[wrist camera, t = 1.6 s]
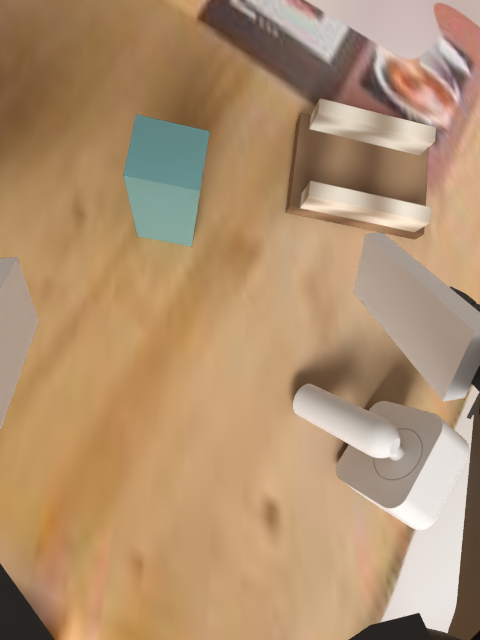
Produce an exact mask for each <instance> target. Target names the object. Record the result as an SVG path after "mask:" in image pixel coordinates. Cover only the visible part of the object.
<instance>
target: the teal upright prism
mask: <svg viewBox="0 0 480 640" xmlns="http://www.w3.org/2000/svg"><path fill="white" fill-rule="evenodd" d="M209 133H210V131H207V130H202V129H198V128H193V127H189V126H185V125H180V124H176V123H172V122H167V121H163V120H159V119H154V118H150V117H146V116H141V115H137V114H136V117H135V122H134V126H133V131H132V136H131V141H130V146H129V151H128V156H127V160H126V165H125V170H124V175H123V176H124V180H125V184H126V188H127V193H128V197H129V201H130V206H131V210H132V214H133V218H134V223H135V227H136V231H137V235H138V236H139V237H144V238H149V239H154V240H160V241H165V242H170V243H176V244H181V245H186V246H192V242H193V236H194V230H195V224H196V218H197V212H198V206H199V200H200V193H201V187H202V180H203V173H204V166H205V160H206V153H207V146H208V139H209Z"/></svg>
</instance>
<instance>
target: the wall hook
mask: <svg viewBox="0 0 480 640" xmlns="http://www.w3.org/2000/svg"><path fill="white" fill-rule="evenodd" d="M293 410H294V412H295V414H297V415H299V416H300V417H302V418H304V419H306V420H307V421H309V422H311V423H313V424H314V425H316V426H318V427H320V428H321V429H323V430H325V431H327V432H328V433H330V434H332V435H334V436H336V437H337V438H339V439H341V440H343V441H344V442H346V443H348V444H349V445H348V446H347V448H346V450H345V451H344V453H343V455H342V457H341V458H340V460H339V462H338V464H337V470H336V472H337V476H338V478H339V479H340V480H341V481H343V482H344V483H345V484H347V485H348V486H349V487H351V488H352V489H354V490H355V491H356V492H358V493H359V494H360V495H362V496H363V497H364V498H366V499H367V500H369V501H370V502H372V503H374V504H375V505H377V506H378V507H380V508H381V509H383V510H385V511H386V512H388V513H389V514H391V515H392V516H394V517H396V518H397V519H399V520H400V521H402V522H404V523H405V524H407V525H408V526H410V527H412V528H414V529H417V530H423V529H426V528H428V527H430V526H431V525H432V524H433V523H434V522H435V520H436V519H437V516H438V515H439V513H440V511H441V509H442V507H443V505H444V503H445V501H446V499H447V497H448V495H449V493H450V491H451V489H452V487H453V485H454V483H455V481H456V479H457V477H458V475H459V473H460V471H461V469H462V467H463V465H464V463H465V461H466V459H467V457H468V454H469V446H468V443H467V441H466V440H465V439H464V438H463V437H462V436H461V435H459V434H458V433H457V432H456V431H455V430H454V429H453V428H452V427H450V426H449V425H448V424H447V423H446V422H445V421H444V420H443V419H441V418H440V417H439V416H438V415H436V414H434V413H430V412H427V411H423V410H419V409H415V408H411V407H408V406H404V405H400V404H396V403H392V402H388V401H380V402H377V403H376V404H374V405H373V406H372V407H371V408H370V409H369V411H368V410H365V409H363V408H361V407H359V406H357V405H355V404H353V403H351V402H349V401H346V400H344V399H342V398H340V397H338V396H336V395H334V394H332V393H329V392H327V391H325V390H323V389H321V388H319V387H317V386H315V385H313V384H305V385H303V386H302V387H301V388H300V389H299V390H298V392H297V393H296V395H295V397H294V401H293Z"/></svg>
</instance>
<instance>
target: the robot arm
mask: <svg viewBox="0 0 480 640" xmlns="http://www.w3.org/2000/svg"><path fill="white" fill-rule="evenodd" d="M353 292H354V294H355V295H356V296H357V297H358V298H359V300H360V301H361V302H362V303H363V305H364V306H365V307H366V308H367V309H368V311H369V312H370V313H371V314H372V316H373V317H374V318H375V319H376V320H377V322H378V323H379V324H380V325H381V326H382V328H383V329H384V330H385V331H386V333H387V334H388V335H389V336H390V337H391V339H392V340H393V341H394V342H395V344H396V345H397V346H398V347H399V348H400V350H401V351H402V352H403V353H404V355H405V356H406V357H407V358H408V359H409V361H410V362H411V363H412V364H413V365H414V367H415V368H416V369H417V370H418V372H419V373H420V374H421V375H422V376H423V378H424V379H425V380H426V381H427V383H428V384H429V385H430V386H431V387H432V389H433V390H434V391H435V392H436V394H437V395H438V396H439V397H440V398H441V400H442V401H448V400H455V399H461V398H465V396H466V394H467V392H468V390H469V388H470V386H471V384H473V385H474V386H475V387H476V388H477V389H478V391H479V392H480V305H479V304H476V302H475V301H474V300H473V299H472V298H470V297H469V296H468V295H467V294H465V293H463V292H461V291H459V290H457V289H455V288H453V287H448V286H447V285H446V284H445V283H444V282H442V281H441V280H440V279H439V278H437V277H436V276H435V275H434V274H433V273H431V272H430V271H429V270H428V269H427V268H425V267H424V266H423V265H422V264H420V263H419V262H418V261H417V260H416V259H414V258H413V257H412V256H411V255H410V254H408V253H407V252H406V251H405V250H403V249H402V248H401V247H400V246H399V245H397V244H396V243H395V242H394V241H392V240H391V239H390V238H389V237H388V236H386V235H385V234H384V233H371V234H366V235H365V239H364V244H363V249H362V253H361V258H360V263H359V267H358V272H357V277H356V281H355V286H354V290H353ZM38 323H39V319H38V316H37V313H36V310H35V307H34V304H33V301H32V298H31V295H30V292H29V289H28V286H27V284H26V281H25V278H24V275H23V272H22V269H21V266H20V263H19V260H18V257H13V258H0V430H1V427H2V425H3V422H4V419H5V416H6V413H7V411H8V408H9V405H10V402H11V399H12V397H13V394H14V391H15V388H16V385H17V382H18V380H19V377H20V374H21V371H22V368H23V366H24V363H25V360H26V357H27V354H28V352H29V349H30V346H31V343H32V340H33V337H34V335H35V332H36V329H37V326H38ZM472 415H474V420H473V431H472V443H471V454H470V464H469V476H468V486H467V498H466V508H465V520H464V530H463V541H462V552H461V563H460V574H459V585H458V597H457V605H456V609H455V613H454V616H453V619H452V622H451V624H450V627H449V631H448V634H447V633H445V632H441V631H437V630H432V629H427V628H426V626H425V624H424V622H423V620H422V618H421V616H420V614H419V613H417V614H413V615H409V616H406V617H401V618H398V619H393V620H389V621H385V622H381V623H377V624H373V625H370V626H368V627H367V628H365V629H364V630H362V631H361V632H360V633H358V634H357V635H355V636H354V637H352V638H351V639H349V640H480V393H479V394H478V396H477V398H476V400H475V402H474V404H473V406H472V408H471V410H470V412H469V414H468V416H467V418H469V419H471V417H472ZM0 640H55V639H54V638H53V636H52V635H51V634H50V632H49V631H48V629H47V628H46V627H45V625H44V624H43V622H42V621H41V620H40V618H39V617H38V616H37V614H36V613H35V611H34V610H33V609H32V607H31V606H30V604H29V603H28V602H27V600H26V599H25V597H24V596H23V595H22V593H21V592H20V590H19V589H18V588H17V586H16V585H15V583H14V582H13V581H12V579H11V578H10V576H9V575H8V574H7V572H6V571H5V570H4V568H3V567H2V565H1V564H0Z"/></svg>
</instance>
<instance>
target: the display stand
mask: <svg viewBox="0 0 480 640" xmlns="http://www.w3.org/2000/svg"><path fill="white" fill-rule="evenodd" d="M435 132H436V127H432V126H428V125H424V124H420V123H416V122H412V121H408V120H404V119H400V118H396V117H392V116H388V115H384V114H380V113H376V112H372V111H368V110H364V109H360V108H357V107H353V106H349V105H345V104H341V103H337V102H333V101H329V100H325V99H321V98H320V99H319V101H318V103H317V105H316V107H315V108H314V110H313V112H312V114H311V116H310V115H306V114H302V113H301V115H300V117H299V119H298V121H297V124H296V132H295V140H294V149H293V157H292V165H291V173H290V181H289V189H288V197H287V205H286V213H290V214H295V215H300V216H305V217H310V218H314V219H319V220H324V221H329V222H334V223H339V224H343V225H348V226H353V227H358V228H363V229H368V230H372V231H377V232H382V233H387V234H392V235H396V236H401V237H406V238H411V239H417V238H418V237H420V236H422V235H423V234H424V226H426V225H427V224H429V223H430V222H431V207H427V206H426V190H427V172H428V154H429V146H430V145H431V144H432V143H434V142H435Z"/></svg>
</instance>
